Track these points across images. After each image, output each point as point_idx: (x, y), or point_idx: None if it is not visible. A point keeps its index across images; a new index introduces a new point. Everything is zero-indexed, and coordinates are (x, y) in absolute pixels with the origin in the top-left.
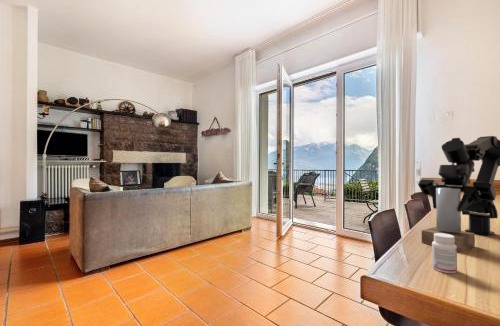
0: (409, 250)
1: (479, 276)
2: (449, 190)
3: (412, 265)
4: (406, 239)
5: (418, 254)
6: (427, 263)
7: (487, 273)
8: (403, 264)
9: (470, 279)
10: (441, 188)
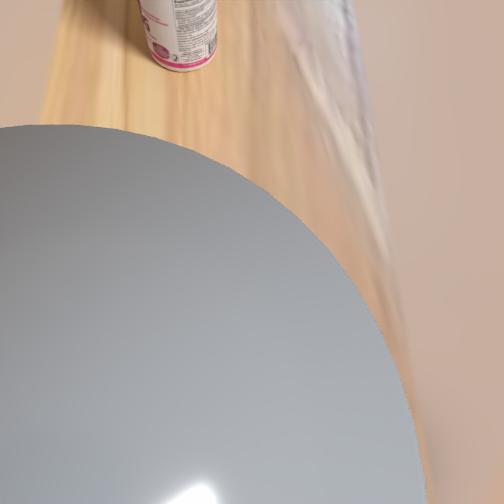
0: (322, 166)
1: (91, 54)
2: (6, 155)
3: (268, 25)
4: (396, 348)
5: (281, 139)
6: (234, 68)
7: (65, 93)
8: (291, 18)
9: (116, 19)
10: (214, 301)
